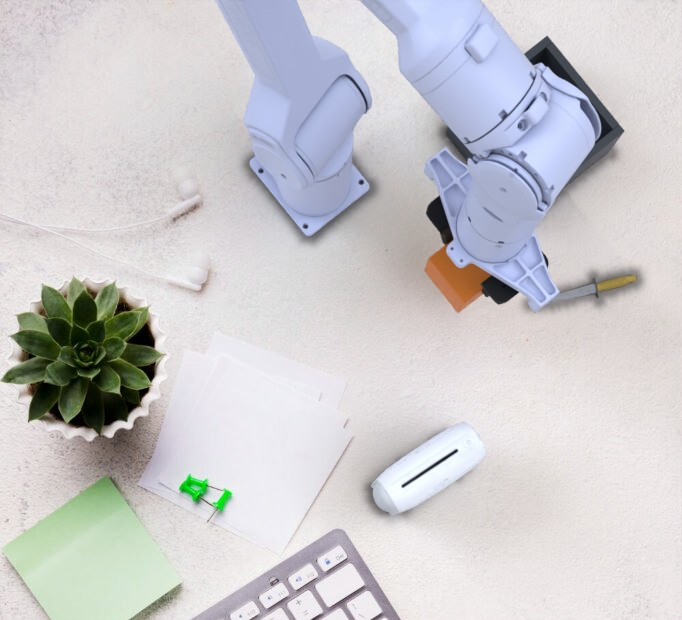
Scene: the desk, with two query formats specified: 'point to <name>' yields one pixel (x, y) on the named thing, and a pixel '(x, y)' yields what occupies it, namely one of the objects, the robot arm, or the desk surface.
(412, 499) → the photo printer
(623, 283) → the dagger
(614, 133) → the bin
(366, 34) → the desk surface
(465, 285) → the block
